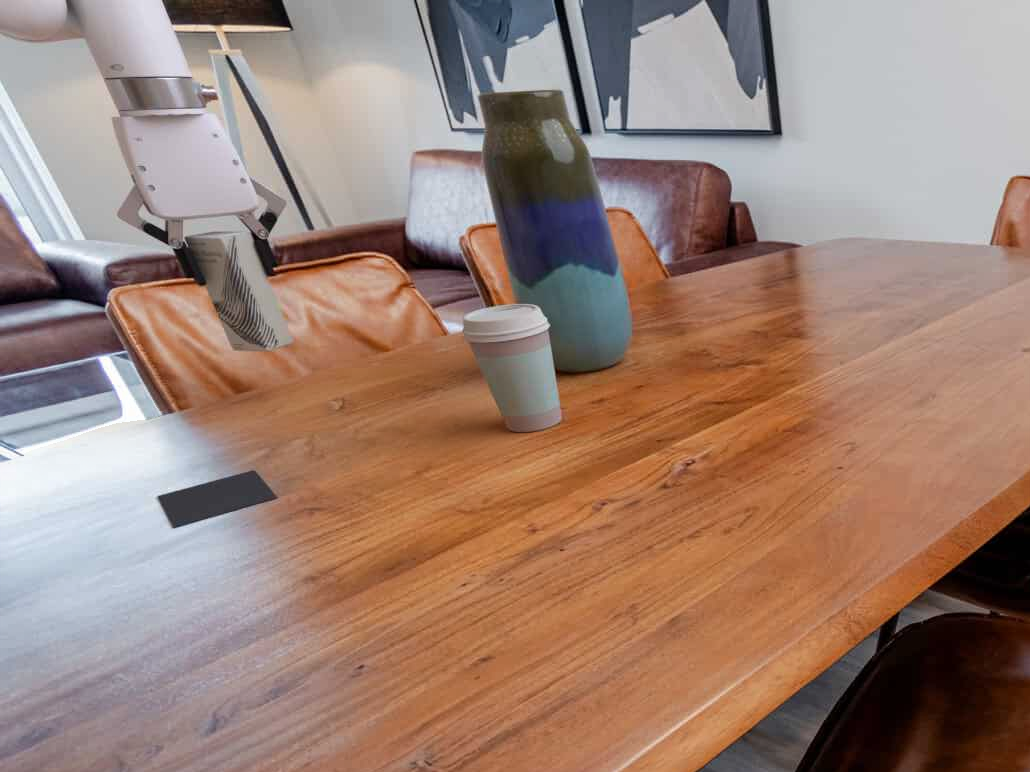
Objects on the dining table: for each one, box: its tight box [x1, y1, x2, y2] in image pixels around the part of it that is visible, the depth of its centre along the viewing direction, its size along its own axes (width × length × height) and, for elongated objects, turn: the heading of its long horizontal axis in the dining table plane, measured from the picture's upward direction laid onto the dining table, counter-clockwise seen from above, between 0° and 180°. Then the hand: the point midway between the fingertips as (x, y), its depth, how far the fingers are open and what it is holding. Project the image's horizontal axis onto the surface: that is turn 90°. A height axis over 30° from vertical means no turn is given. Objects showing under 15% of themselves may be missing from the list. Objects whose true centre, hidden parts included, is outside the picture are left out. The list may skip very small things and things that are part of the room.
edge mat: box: [157, 469, 278, 529], centre depth 78 cm, size 8×10×1 cm
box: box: [183, 231, 294, 353], centre depth 97 cm, size 5×4×13 cm
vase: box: [477, 89, 634, 373], centre depth 102 cm, size 14×14×31 cm
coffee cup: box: [461, 303, 563, 433], centre depth 88 cm, size 9×8×12 cm
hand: (235, 278), depth 96 cm, fingers closed on box, 6 cm apart
